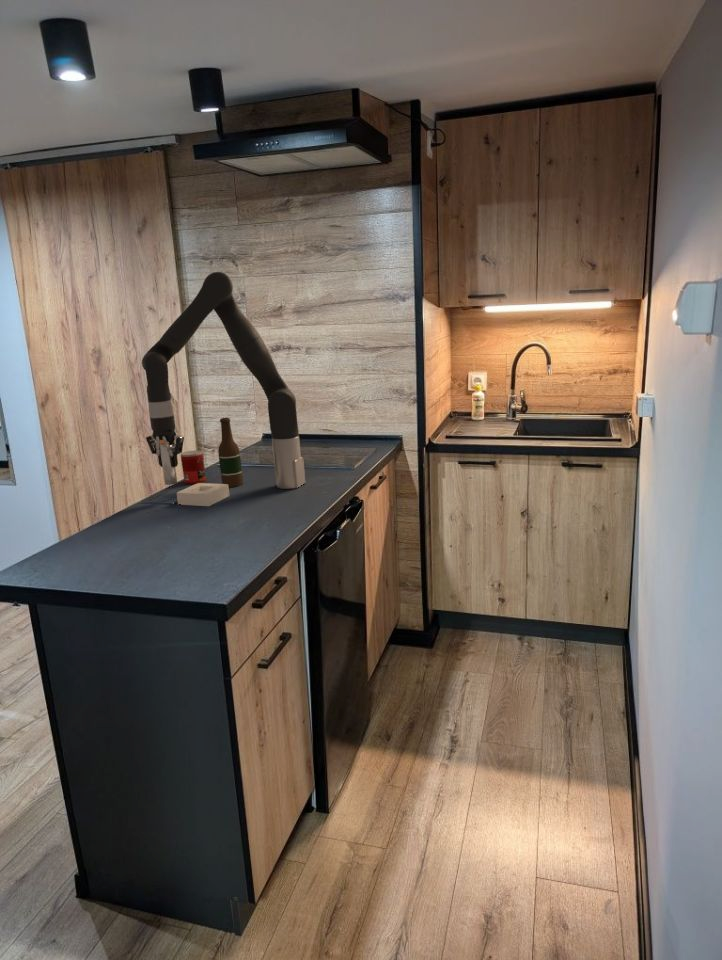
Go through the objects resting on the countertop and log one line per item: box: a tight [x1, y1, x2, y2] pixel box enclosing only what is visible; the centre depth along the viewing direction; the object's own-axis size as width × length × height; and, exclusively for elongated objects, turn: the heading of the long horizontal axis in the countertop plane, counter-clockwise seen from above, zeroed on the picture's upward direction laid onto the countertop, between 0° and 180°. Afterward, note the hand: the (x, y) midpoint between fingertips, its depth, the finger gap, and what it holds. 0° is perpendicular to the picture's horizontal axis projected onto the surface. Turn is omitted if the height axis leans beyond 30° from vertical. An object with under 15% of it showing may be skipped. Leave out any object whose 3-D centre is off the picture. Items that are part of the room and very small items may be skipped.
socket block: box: [176, 482, 230, 507], centre depth 223 cm, size 12×12×4 cm
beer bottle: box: [217, 417, 244, 488], centre depth 238 cm, size 8×8×24 cm
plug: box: [159, 439, 178, 486], centre depth 221 cm, size 4×4×15 cm
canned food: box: [180, 450, 207, 485], centre depth 247 cm, size 8×8×11 cm
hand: (168, 466), depth 222 cm, fingers closed on plug, 4 cm apart
